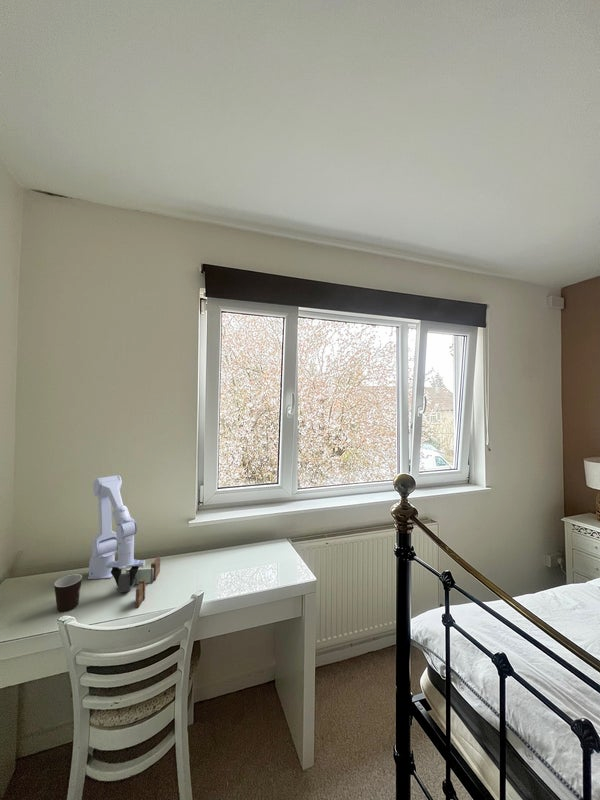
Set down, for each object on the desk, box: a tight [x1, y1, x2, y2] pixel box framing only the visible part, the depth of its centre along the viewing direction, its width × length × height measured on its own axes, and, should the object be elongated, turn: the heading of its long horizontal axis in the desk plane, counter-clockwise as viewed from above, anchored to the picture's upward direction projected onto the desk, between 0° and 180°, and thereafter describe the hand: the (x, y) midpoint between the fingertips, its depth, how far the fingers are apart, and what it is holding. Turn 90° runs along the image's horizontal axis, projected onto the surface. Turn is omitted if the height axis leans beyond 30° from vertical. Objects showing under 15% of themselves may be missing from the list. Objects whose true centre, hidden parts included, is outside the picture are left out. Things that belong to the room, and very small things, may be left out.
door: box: [125, 567, 154, 585], centre depth 137 cm, size 11×1×6 cm, turn 97°
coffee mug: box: [53, 573, 83, 613], centre depth 122 cm, size 12×9×10 cm
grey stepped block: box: [117, 572, 136, 593], centre depth 132 cm, size 7×4×6 cm, turn 7°
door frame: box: [135, 555, 161, 609], centre depth 134 cm, size 2×26×8 cm, turn 7°
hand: (125, 584), depth 130 cm, fingers closed on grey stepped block, 4 cm apart
